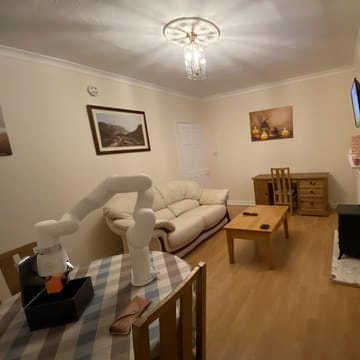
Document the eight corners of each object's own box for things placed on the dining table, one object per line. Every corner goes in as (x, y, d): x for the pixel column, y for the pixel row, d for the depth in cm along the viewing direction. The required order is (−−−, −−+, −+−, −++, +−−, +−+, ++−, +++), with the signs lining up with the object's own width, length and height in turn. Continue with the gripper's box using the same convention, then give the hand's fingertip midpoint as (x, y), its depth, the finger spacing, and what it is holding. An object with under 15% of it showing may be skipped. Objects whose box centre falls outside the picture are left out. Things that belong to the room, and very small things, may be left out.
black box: (94, 294, 106) (90, 275, 104) (78, 320, 90) (73, 298, 89) (54, 302, 102) (49, 283, 100) (29, 331, 86) (23, 308, 84)
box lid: (47, 246, 98) (32, 247, 96) (20, 265, 82) (2, 266, 80) (50, 282, 100) (35, 283, 99) (24, 307, 84) (6, 309, 83)
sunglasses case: (128, 334, 82) (118, 321, 81) (116, 340, 83) (105, 328, 83) (152, 300, 99) (144, 289, 99) (142, 306, 101) (133, 295, 100)
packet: (69, 280, 98) (67, 270, 97) (59, 291, 91) (57, 281, 90) (58, 282, 97) (56, 272, 96) (47, 293, 90) (45, 283, 89)
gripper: (20, 256, 85) (30, 295, 88) (68, 249, 89) (76, 287, 92) (33, 247, 92) (42, 284, 96) (77, 241, 96) (84, 277, 99)
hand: (59, 285), depth 94 cm, fingers closed on packet, 4 cm apart
